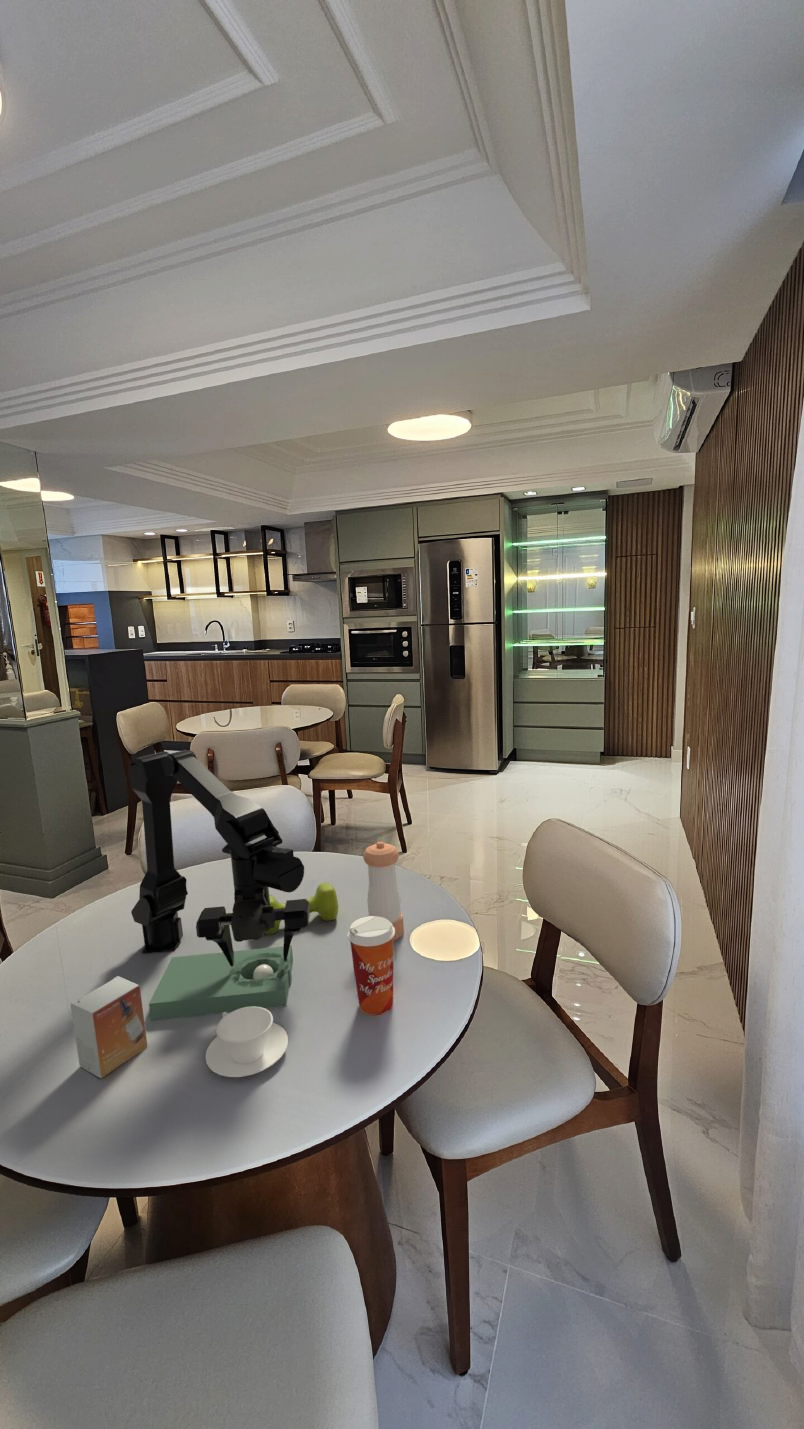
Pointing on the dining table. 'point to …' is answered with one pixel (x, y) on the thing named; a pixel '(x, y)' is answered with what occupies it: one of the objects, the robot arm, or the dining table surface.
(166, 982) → the green slab with hollow
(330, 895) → the dumbbell
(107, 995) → the small box
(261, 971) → the ball
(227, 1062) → the teacup
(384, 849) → the salt shaker
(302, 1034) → the dining table surface
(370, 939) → the paper cup
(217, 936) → the robot arm
